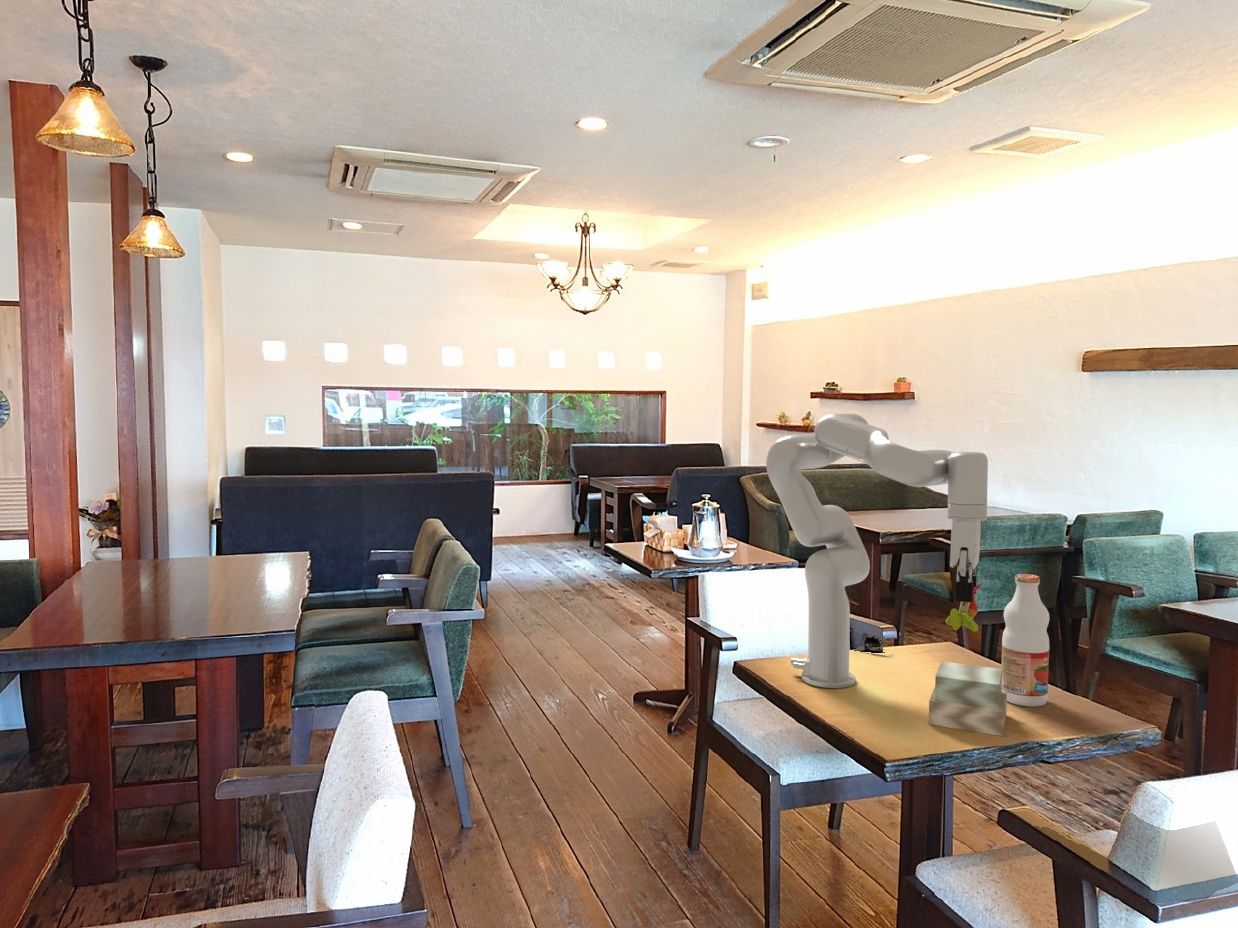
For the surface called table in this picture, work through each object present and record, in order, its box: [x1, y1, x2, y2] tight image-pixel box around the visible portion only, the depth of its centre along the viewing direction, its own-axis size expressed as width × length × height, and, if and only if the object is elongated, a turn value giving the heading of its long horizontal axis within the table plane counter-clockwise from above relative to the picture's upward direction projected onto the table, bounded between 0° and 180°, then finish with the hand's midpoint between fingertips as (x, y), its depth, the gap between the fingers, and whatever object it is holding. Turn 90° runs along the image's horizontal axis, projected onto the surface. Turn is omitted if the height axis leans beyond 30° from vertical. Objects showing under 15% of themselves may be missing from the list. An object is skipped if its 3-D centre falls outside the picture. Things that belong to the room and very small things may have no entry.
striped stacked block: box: [928, 661, 1008, 737], centre depth 175 cm, size 14×13×10 cm
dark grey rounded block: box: [853, 634, 885, 653], centre depth 224 cm, size 12×7×5 cm, turn 56°
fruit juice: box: [1000, 573, 1050, 708], centre depth 186 cm, size 9×9×28 cm
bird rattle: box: [945, 581, 982, 633], centre depth 174 cm, size 6×11×9 cm
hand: (965, 596), depth 174 cm, fingers closed on bird rattle, 6 cm apart
